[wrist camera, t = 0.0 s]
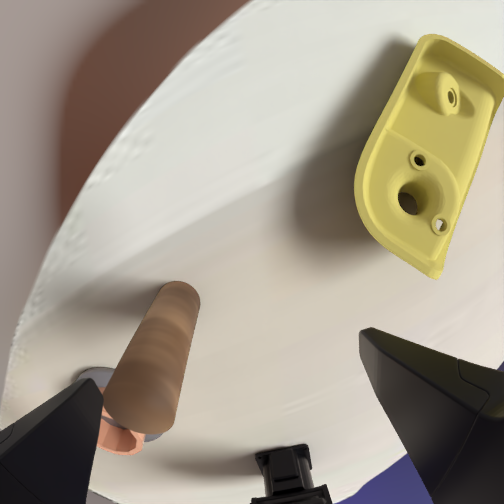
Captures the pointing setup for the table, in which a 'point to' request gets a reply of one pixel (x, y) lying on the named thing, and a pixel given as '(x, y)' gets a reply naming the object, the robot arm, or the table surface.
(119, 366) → the walnut rail post
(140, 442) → the ring
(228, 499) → the table surface
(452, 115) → the plastic component
